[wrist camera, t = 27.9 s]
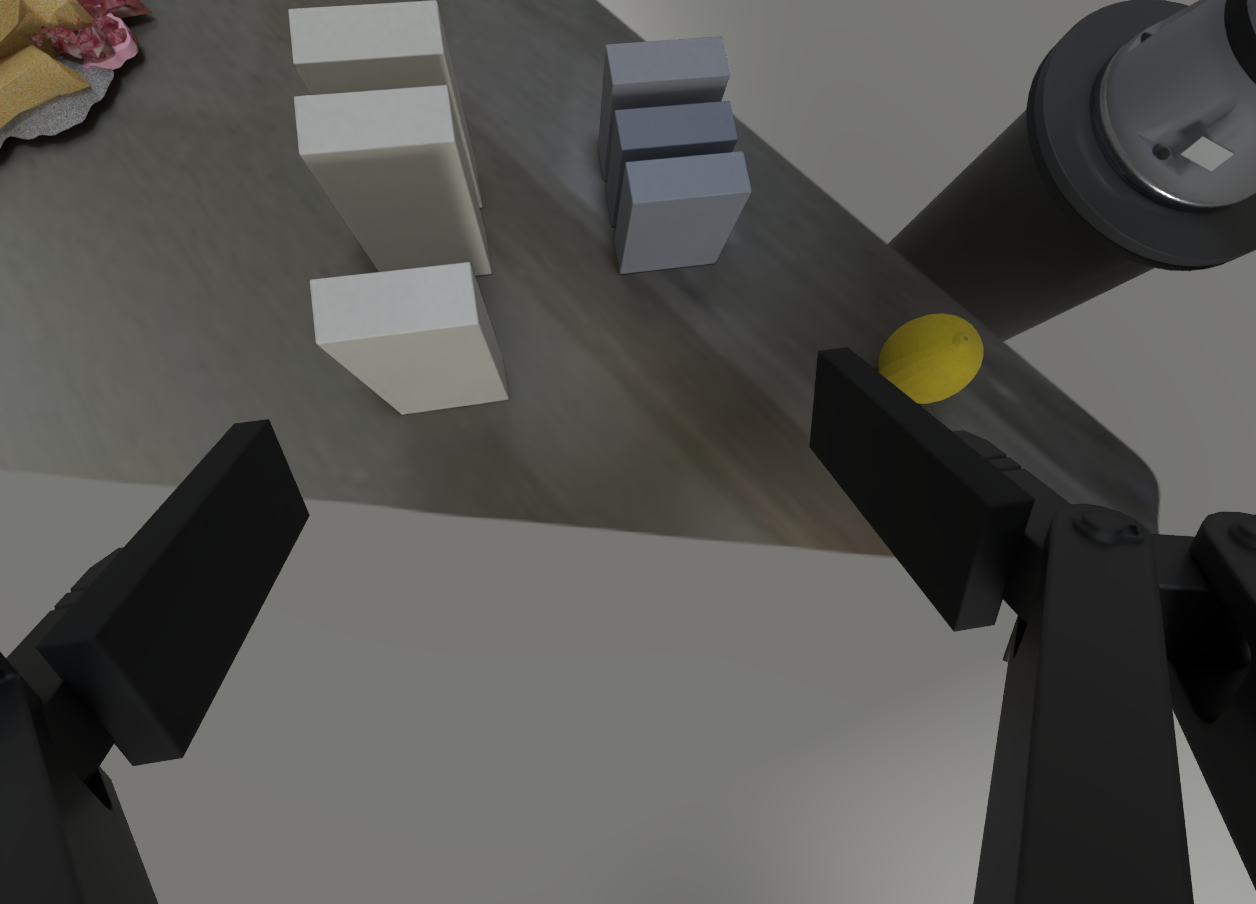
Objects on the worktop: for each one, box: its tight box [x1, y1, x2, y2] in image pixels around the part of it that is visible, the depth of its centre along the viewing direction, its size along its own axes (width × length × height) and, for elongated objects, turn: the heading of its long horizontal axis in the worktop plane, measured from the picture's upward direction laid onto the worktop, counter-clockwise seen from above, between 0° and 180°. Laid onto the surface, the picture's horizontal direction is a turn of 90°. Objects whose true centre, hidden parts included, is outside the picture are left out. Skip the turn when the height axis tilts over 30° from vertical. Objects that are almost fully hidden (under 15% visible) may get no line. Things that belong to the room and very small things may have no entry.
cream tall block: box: [310, 262, 509, 414], centre depth 34 cm, size 3×7×14 cm, turn 99°
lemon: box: [878, 314, 983, 404], centre depth 40 cm, size 6×6×8 cm
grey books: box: [598, 37, 751, 274], centre depth 40 cm, size 10×7×9 cm
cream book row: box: [288, 1, 492, 276], centre depth 36 cm, size 8×7×14 cm
